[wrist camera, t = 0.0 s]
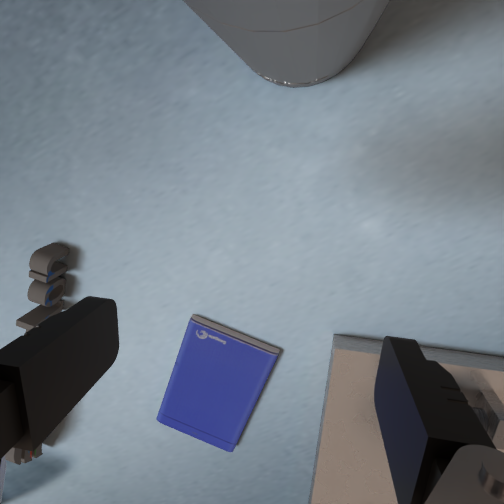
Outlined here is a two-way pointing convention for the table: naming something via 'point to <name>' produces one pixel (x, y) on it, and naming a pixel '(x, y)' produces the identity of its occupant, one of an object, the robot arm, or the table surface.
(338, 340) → the mounting plate
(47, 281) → the extruded letter logo
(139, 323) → the table surface
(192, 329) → the hard drive
